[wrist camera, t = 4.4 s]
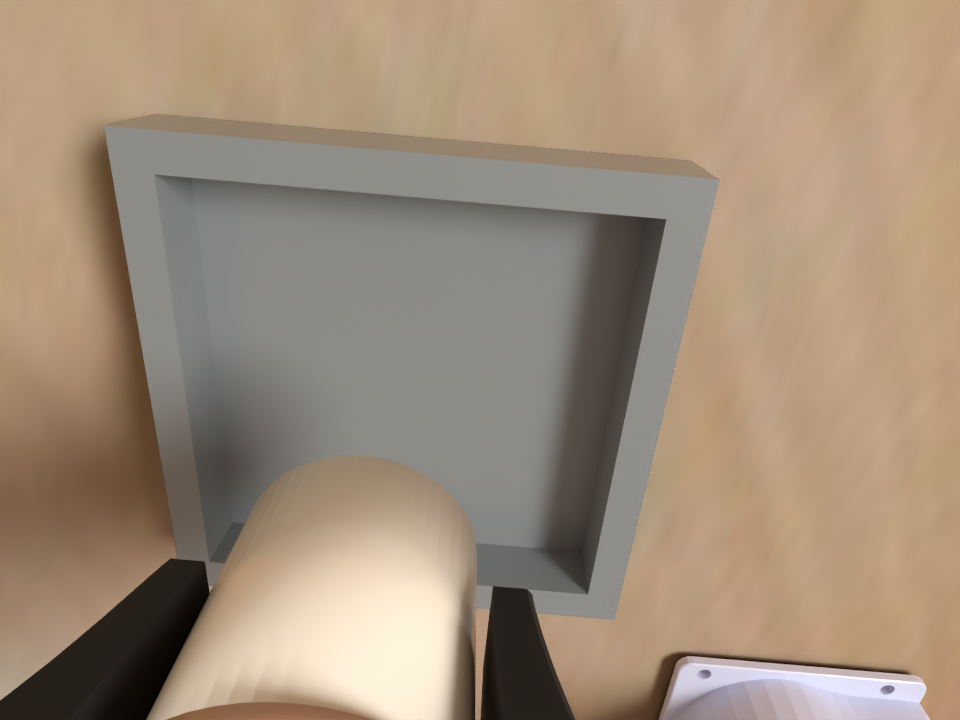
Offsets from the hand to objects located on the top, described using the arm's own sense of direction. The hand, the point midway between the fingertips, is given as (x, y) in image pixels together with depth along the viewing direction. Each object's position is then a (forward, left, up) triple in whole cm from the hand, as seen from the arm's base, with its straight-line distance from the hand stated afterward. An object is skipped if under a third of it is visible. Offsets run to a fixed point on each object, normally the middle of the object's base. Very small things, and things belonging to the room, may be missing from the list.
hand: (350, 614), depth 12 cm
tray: (0, 0, -9) cm, 9 cm away
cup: (0, 0, -2) cm, 2 cm away
